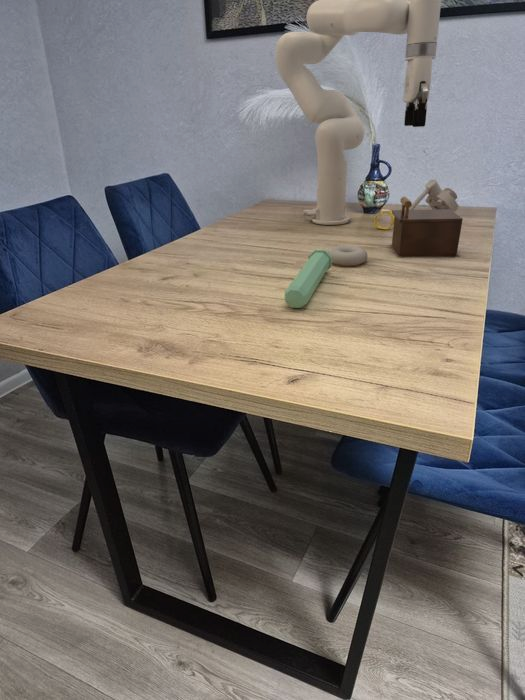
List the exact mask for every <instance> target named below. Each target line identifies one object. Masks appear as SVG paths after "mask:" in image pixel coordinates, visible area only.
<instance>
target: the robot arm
mask: <svg viewBox="0 0 525 700" xmlns="http://www.w3.org/2000/svg"><path fill="white" fill-rule="evenodd" d="M441 6H442V0H316V1H314V2H313V3H312V4H311V5H310V6H309V8H307V9H308V10H307V12H306V24H307V26H308V28H309V30H310V31H312V32H308V31H300V30H299V31H297V30H296V31H295V30H294V31H288V32H286V33H284V34H282V35H281V36H280V37H279V38H278V40H277V42H276V45H275V46H276V47H275V54H274V55H275V56H274V57H275V65H276V68H277V71H278V74H279V76H280V77H281V80H282V81H283V82H284V84H285V85H286V87H287V88H288V90H289V91H290V93H291V94H292V96H293V98H294V100H295V101H296V103H297V105H298V106H299V108H300V110H301V111H302V113H303V115H304V117H305V118H306V120H307V121H308V122H309V123H312V124H318V126H317V128H316V130H315V134H314V143H315V149H316V154H317V155H316V157H317V160H316V161H317V171H316V172H317V177H316V179H317V182H316V206H315V208H312V209H303V216H306V217H311V221H312V223H313V224H316V225H322V226H338V225H345V224H347V223H349V222H350V217H349V216H348V215H346V201H347V200H346V199H347V175H348V162H347V157H346V155H345V151H349V150H354V149H356V148H358V147H359V146H360V145H361V144H362V142H363V140H364V137H365V129H364V125H363V122H362V121H361V119H360V117H359V115H358V114H357V112H356V111H355V109H354V107H353V105H352V104H351V102H350V100H348V97H347V96H346V95H345V94H343V93H342V92H341V91H339V90H336V89H325V88H323V87H322V85H321V84H320V83H319V81H318V80H317V78H316V76H315V75H314V73H313V72H311V70H310V69H309V68H307V67H306V65H317V64H319V63H321V62H322V61H324V60H325V59H326V58H327V57H328V56H329V54H330V53H331V52H332V50H333V49H334V48H335V47H336V46H337V45H338V43H340V42H341V40H342V39H343V38H344V36H355V35H357V33H378V34H379V33H380V34H389V35H391V34H393V35H399V36H401V35H406V43H405V44H406V46H405V57H404V58H405V59H404V61H405V62H407V64H406V69H405V77H404V84H403V93H402V94H403V95H402V101H403V103H405V111H404V126H405V127H411V126H412V127H413V128H420V127H421V128H422V127H423V128H424V127H425V126H426V122H427V111H428V110H427V109H428V101H429V99H430V94H431V93H430V91H431V82H432V67H433V66H432V65H433V60H434V59H436V57H437V56H436V55H437V47H438V37H439V27H440V16H441V8H442V7H441Z"/></svg>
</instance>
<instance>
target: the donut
mask: <svg viewBox="0 0 525 700" xmlns="http://www.w3.org/2000/svg"><path fill="white" fill-rule="evenodd" d="M327 252H328V253H329V254H330V255H331V257H332V264H334V265H337V266H341V267H342V266H343V267H353V266H359V265H361V264H363V263H364V262H366V260H367V259H368V252H367V250H366V249H365V248H364V247H361V246H359V245H354V244H353V245H352V244H341V245H336V246H333V247H332V248H330V249H329V251H327Z"/></svg>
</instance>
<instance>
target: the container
mask: <svg viewBox="0 0 525 700" xmlns="http://www.w3.org/2000/svg"><path fill="white" fill-rule="evenodd" d="M328 252H329V251H327V250H326V249H317V248H316V249H314V250H313V252H311V253H310V254H309V255H308V260H307V261H306V262H305V264H304V265H303V266H302V268H301V269H300V270H299V272H298V273H297V274H296V276H295V277H294V279H293V280H292V281H291V282H290V284H289V285H288V287H287V288H286V289H285V290H284V302H285V303H286V304H287V305H288V307H290V308H294V309H301V308H303V307H304V306H305V305H306V304H308V303H309V300H310V299H311V297H312V295H313V294H314V292H315V290H316V289H317V287H318V285H319V284H320V282H321V281H322V279H323V277H324V276H325V274H326V272H327V271H328V270H329V269H331V268H332V264H333V263H332V257H331V255H330V254H329V253H328Z"/></svg>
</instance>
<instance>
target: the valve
mask: <svg viewBox="0 0 525 700" xmlns="http://www.w3.org/2000/svg"><path fill="white" fill-rule="evenodd" d="M426 196H427V197H426ZM425 197H426V199H425ZM423 199H425V200H424V201H425V203H426V204H428V206H429V207H430V209H431V210H435V209H450V210H452V211H453V212H454V213H456V211H457V210H458V209H459V208H460V205H459V204H458V202H457V199H458V194H457V193H456V192H455V191H454V190H453V189H452V188H450V187H445V188H444V189H442V188H441V186H440V185H439V183H438V181H437V180H436V179H430V180H429V181H427V183H426V184H425V189H424V190H423V192H421V194H419V196H417V198H416V199H415V200H414V201H413V202H412V205H411V207H410V208H409V210H415V208H416V207H417V206H418V205H419V204H420V203H421V202H422V200H423Z"/></svg>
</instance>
